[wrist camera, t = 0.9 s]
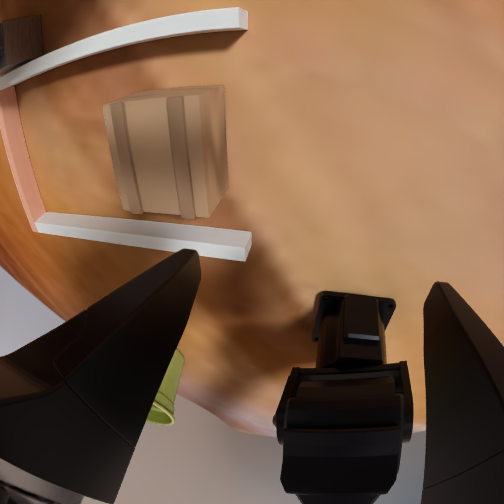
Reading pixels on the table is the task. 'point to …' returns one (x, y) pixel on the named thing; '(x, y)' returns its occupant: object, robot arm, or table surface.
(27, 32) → the winch
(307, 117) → the table surface
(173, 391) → the plant pot
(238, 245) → the bay
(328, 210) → the table surface
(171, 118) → the crate
